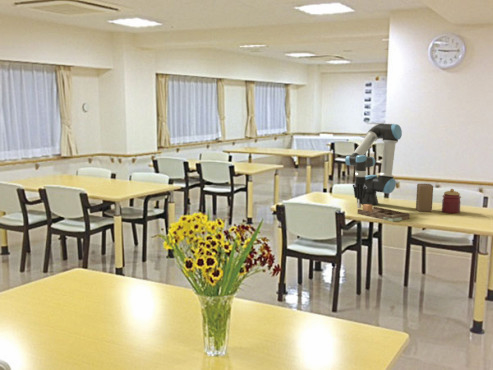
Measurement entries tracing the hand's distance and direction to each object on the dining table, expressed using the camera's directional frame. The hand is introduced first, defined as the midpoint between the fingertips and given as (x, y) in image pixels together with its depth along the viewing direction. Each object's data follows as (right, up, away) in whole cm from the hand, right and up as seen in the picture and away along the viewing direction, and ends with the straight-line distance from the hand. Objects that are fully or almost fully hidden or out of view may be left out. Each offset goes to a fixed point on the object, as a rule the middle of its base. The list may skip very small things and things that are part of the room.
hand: (359, 207), depth 393 cm
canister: (+69, -4, +4) cm, 69 cm away
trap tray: (+14, -5, -12) cm, 20 cm away
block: (+51, -3, +9) cm, 52 cm away
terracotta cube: (+5, -2, -6) cm, 8 cm away
